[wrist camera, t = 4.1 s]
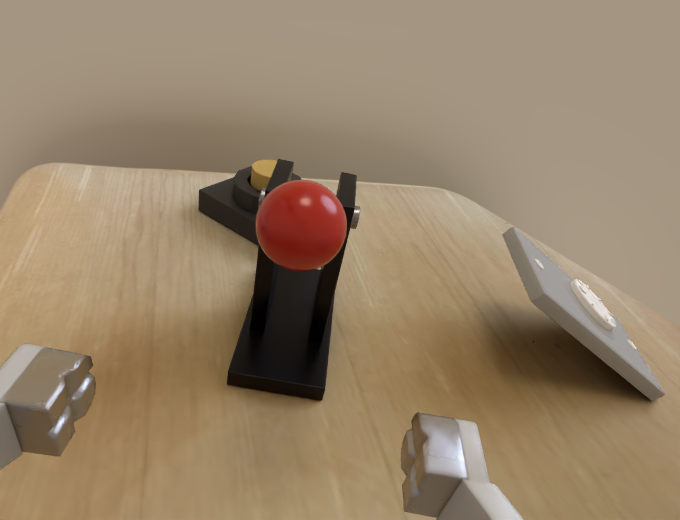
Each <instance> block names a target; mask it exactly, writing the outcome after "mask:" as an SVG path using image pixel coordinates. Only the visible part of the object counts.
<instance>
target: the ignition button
mask: <svg viewBox="0 0 680 520" xmlns="http://www.w3.org/2000/svg"><path fill="white" fill-rule="evenodd" d="M276 163H277V161H274V160H260V161H257V162H255V163H254V164H253V165H252V171H251V182H250V183H251V186H252V187H254V188H256V189H258V190H260V191H261V190H262V188H263V187H264V188H266V187H267V185H268V183H269V180H270V178H271V175H272V173H273V170H274V168H275V166H276Z"/></svg>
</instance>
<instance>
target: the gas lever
mask: <svg viewBox="0 0 680 520" xmlns="http://www.w3.org/2000/svg"><path fill="white" fill-rule="evenodd" d="M255 225H256V235H257V238H258V242H259V244H260V246H261V248H262V250H263V251H264V253H265V254H266V255H267V256H268V257H269V258H270V259H271V260H272V261H273V262H275V263H276V264H278V265H279V266H281V267H283V268H286V269H289V270H293V271H310V270H314V269H317V268H320V267H322V266H324V265H325V264H327V263H328V262H330V261H331V260H332V259H333V258H334V257H335V256H336V255H337V254H338V252H339V251H340V249H341V247H342V245H343V243H344V241H345V237H346V231H347V220H346V214H345V211H344V208H343V206H342V204H341V202H340V201H339V199H338V198H337V197H336V195H335V194H334V193H333V192H332V191H330V190H329V189H328V188H326V187H325V186H323V185H321V184H319V183H316V182H313V181H309V180H293V181H289V182H285V183H283V184H281V185H279V186H277V187H276V188H274V189H273V190H272V191H270V193H269V194H268V195H267V196H266V197H265V198H264V200H263V201H262V203H261V205H260V206H259V209H258V212H257V216H256V223H255Z"/></svg>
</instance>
